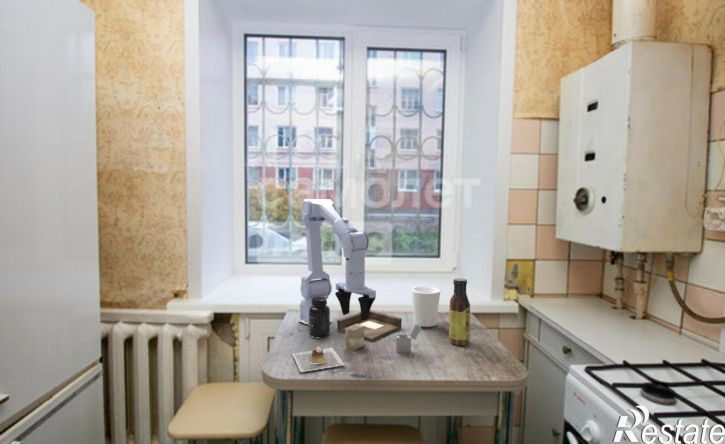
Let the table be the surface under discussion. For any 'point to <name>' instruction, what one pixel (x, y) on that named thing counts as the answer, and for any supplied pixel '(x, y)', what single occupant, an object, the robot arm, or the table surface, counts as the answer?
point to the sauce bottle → (459, 314)
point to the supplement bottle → (319, 317)
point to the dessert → (319, 358)
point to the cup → (425, 306)
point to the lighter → (406, 340)
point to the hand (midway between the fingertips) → (355, 316)
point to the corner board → (372, 324)
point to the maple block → (355, 337)
